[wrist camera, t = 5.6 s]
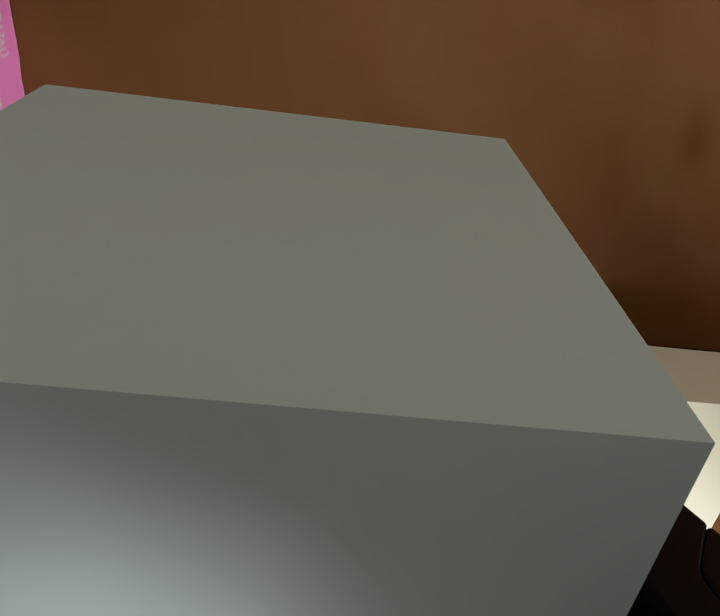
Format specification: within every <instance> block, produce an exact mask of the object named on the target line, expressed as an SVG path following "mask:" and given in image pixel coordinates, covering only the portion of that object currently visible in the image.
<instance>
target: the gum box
mask: <svg viewBox="0 0 720 616" xmlns="http://www.w3.org/2000/svg"><path fill="white" fill-rule="evenodd" d="M24 96H25V94H24V88H23V83H22V79H21V69H20V59H19V53H18V47H17V42H16V36H15V31H14V26H13V20H12V15H11V9H10V3H9V0H0V110H2V109H4V108H5V107H7V106H9V105H11V104H12V103H14V102H16V101H17V100H19V99H21V98H23V97H24Z"/></svg>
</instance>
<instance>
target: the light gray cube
mask: <svg viewBox="0 0 720 616" xmlns="http://www.w3.org/2000/svg"><path fill="white" fill-rule="evenodd" d="M714 445H715V442H714V440H713V439H712V438H711V436H710V435H709V433H708V432H707V430H706V429H705V427H704V426H703V425H702V423H701V422H700V420H699V419H698V417H697V416H696V414H695V413H694V412H693V410H692V409H691V407H690V406H689V404H688V403H687V401H686V400H685V399H684V397H683V396H682V394H681V393H680V391H679V390H678V388H677V387H676V386H675V384H674V383H673V381H672V380H671V378H670V377H669V375H668V374H667V373H666V371H665V370H664V368H663V367H662V365H661V364H660V362H659V361H658V360H657V358H656V357H655V355H654V354H653V352H652V351H651V349H650V348H649V347H648V345H647V344H646V342H645V341H644V339H643V338H642V336H641V335H640V334H639V332H638V331H637V329H636V328H635V326H634V325H633V323H632V322H631V321H630V319H629V318H628V316H627V315H626V313H625V312H624V310H623V309H622V308H621V306H620V305H619V303H618V302H617V300H616V299H615V297H614V296H613V295H612V293H611V292H610V290H609V289H608V287H607V286H606V284H605V283H604V282H603V280H602V279H601V277H600V276H599V274H598V273H597V271H596V270H595V269H594V267H593V266H592V264H591V263H590V261H589V260H588V258H587V257H586V256H585V254H584V253H583V251H582V250H581V248H580V247H579V245H578V244H577V243H576V241H575V240H574V238H573V237H572V235H571V234H570V232H569V231H568V230H567V228H566V227H565V225H564V224H563V222H562V221H561V219H560V218H559V217H558V215H557V214H556V212H555V211H554V209H553V208H552V206H551V205H550V204H549V202H548V201H547V199H546V198H545V196H544V195H543V193H542V192H541V191H540V189H539V188H538V186H537V185H536V183H535V182H534V180H533V179H532V178H531V176H530V175H529V173H528V172H527V170H526V169H525V167H524V166H523V165H522V163H521V162H520V160H519V159H518V157H517V156H516V154H515V153H514V152H513V150H512V149H511V147H510V146H509V144H508V143H507V141H506V140H505V139H501V138H492V137H484V136H476V135H467V134H459V133H450V132H442V131H434V130H425V129H417V128H408V127H400V126H392V125H383V124H375V123H366V122H358V121H349V120H341V119H333V118H324V117H316V116H307V115H299V114H291V113H282V112H274V111H265V110H257V109H248V108H240V107H232V106H223V105H215V104H206V103H198V102H190V101H181V100H173V99H164V98H156V97H147V96H139V95H131V94H122V93H114V92H105V91H97V90H89V89H80V88H72V87H63V86H55V85H46V84H45V85H44V86H42V87H40V88H38V89H37V90H35V91H33V92H31V93H30V94H28V95H26V96H24V97H23V98H21V99H19V100H17V101H16V102H14V103H12V104H11V105H9V106H7V107H5V108H4V109H2V110H0V616H627V614H628V613H629V611H630V609H631V607H632V605H633V603H634V601H635V599H636V597H637V595H638V593H639V591H640V589H641V587H642V585H643V583H644V581H645V579H646V577H647V575H648V574H649V572H650V570H651V568H652V566H653V564H654V562H655V560H656V558H657V556H658V554H659V552H660V550H661V548H662V546H663V544H664V542H665V540H666V538H667V536H668V535H669V533H670V531H671V529H672V527H673V525H674V523H675V521H676V519H677V517H678V515H679V513H680V511H681V509H682V507H683V505H684V503H685V501H686V499H687V497H688V496H689V494H690V492H691V490H692V488H693V486H694V484H695V482H696V480H697V478H698V476H699V474H700V472H701V470H702V468H703V466H704V464H705V462H706V460H707V459H708V457H709V455H710V453H711V451H712V449H713V447H714Z"/></svg>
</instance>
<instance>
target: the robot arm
mask: <svg viewBox="0 0 720 616" xmlns="http://www.w3.org/2000/svg"><path fill="white" fill-rule="evenodd" d="M706 528H707V525H706V523H705V522H704V521H703V520H701V519H700V518H699V517H698V516H697V515H695V514H694V513H693V512H692V511H691V510H689V509H688V508H687V507H686V506H685V505H683V507H682V509H681V511H680V513H679V515H678V517H677V519H676V521H675V523H674V525H673V527H672V529H671V531H670V533H669V535H668V536H667V538H666V540H665V542H664V544H663V546H662V548H661V550H660V552H659V554H658V556H657V558H656V560H655V562H654V564H653V566H652V568H651V570H650V572H649V574H648V575H647V577H646V579H645V581H644V583H643V585H642V587H641V589H640V591H639V593H638V595H637V597H636V599H635V601H634V603H633V605H632V607H631V609H630V611H629V613H628V614H627V616H720V534H718V533H717V532H716V531H715V530H714V529H712V528H708V529H706Z"/></svg>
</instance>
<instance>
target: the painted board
mask: <svg viewBox="0 0 720 616" xmlns="http://www.w3.org/2000/svg"><path fill="white" fill-rule="evenodd" d="M648 347H649V348H650V349H651V351H652V352H653V354H654V355H655V357H656V358H657V360H658V361H659V362H660V364H661V365H662V367H663V368H664V370H665V371H666V373H667V374H668V375H669V377H670V378H671V380H672V381H673V383H674V384H675V386H676V387H677V388H678V390H679V391H680V393H681V394H682V396H683V397H684V399H685V400H686V401H687V403H688V404H689V406H690V407H691V409H692V410H693V412H694V413H695V414H696V416H697V417H698V419H699V420H700V422H701V423H702V425H703V426H704V427H705V429H706V430H707V432H708V433H709V435H710V436H711V438H712V439H713V440H714V442H715V445H714V447H713V449H712V451H711V453H710V455H709V457H708V459H707V460H706V462H705V464H704V466H703V468H702V470H701V472H700V474H699V476H698V478H697V480H696V482H695V484H694V486H693V488H692V490H691V492H690V494H689V496H688V497H687V499H686V501H685V503H684V505H685V506H686V507H687V508H688V509H689V510H691V511H692V512H693V513H694V514H695V515H697V516H698V517H699V518H700V519H701V520H703V521H704V522H705V523H706V525H707V528H706V529H708V528H712V526H713V524H714V522H715V520H716V519H717V517H718V515H719V513H720V353H719V352H709V351H698V350H688V349H677V348H667V347H657V346H648Z"/></svg>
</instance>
